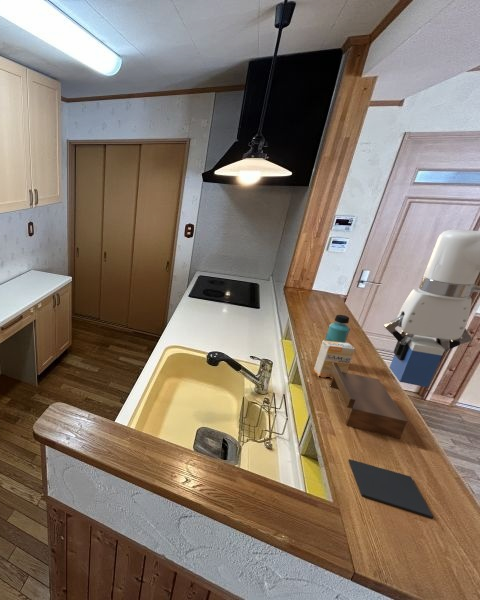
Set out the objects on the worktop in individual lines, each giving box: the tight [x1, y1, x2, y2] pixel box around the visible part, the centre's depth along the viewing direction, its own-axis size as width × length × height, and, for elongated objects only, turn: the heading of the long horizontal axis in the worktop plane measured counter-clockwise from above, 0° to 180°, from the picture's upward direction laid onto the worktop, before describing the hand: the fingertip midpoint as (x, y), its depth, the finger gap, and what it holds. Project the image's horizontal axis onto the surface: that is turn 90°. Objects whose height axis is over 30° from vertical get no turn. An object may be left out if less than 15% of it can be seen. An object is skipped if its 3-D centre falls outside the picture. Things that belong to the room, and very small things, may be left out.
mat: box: [348, 458, 434, 520], centre depth 75 cm, size 12×11×1 cm
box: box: [389, 335, 445, 388], centre depth 76 cm, size 5×7×10 cm
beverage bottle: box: [324, 314, 351, 343], centre depth 123 cm, size 6×7×20 cm
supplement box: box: [313, 339, 356, 379], centre depth 116 cm, size 8×5×13 cm, turn 76°
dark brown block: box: [329, 362, 408, 440], centre depth 100 cm, size 13×22×9 cm, turn 154°
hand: (414, 359), depth 76 cm, fingers closed on box, 5 cm apart
